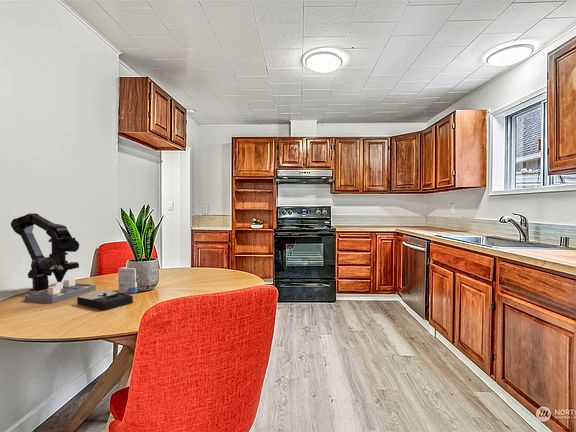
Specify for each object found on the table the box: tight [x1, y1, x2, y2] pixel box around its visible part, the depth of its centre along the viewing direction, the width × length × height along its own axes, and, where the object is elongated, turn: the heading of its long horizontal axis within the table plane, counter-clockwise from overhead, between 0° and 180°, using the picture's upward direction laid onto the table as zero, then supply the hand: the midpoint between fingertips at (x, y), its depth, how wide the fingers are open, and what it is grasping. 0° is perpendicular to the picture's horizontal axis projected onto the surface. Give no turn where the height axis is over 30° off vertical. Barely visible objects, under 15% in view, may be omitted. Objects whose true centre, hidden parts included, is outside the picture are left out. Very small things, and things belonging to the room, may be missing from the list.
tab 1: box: [50, 281, 64, 289], centre depth 161 cm, size 3×4×3 cm
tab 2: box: [47, 286, 61, 295], centre depth 153 cm, size 3×4×3 cm
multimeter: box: [76, 290, 134, 312], centre depth 147 cm, size 13×19×5 cm
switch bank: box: [23, 282, 97, 304], centre depth 161 cm, size 15×24×3 cm, turn 167°
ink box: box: [117, 266, 138, 294], centre depth 167 cm, size 9×5×12 cm, turn 84°
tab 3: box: [63, 278, 76, 287], centre depth 168 cm, size 3×4×3 cm
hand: (59, 282), depth 169 cm, fingers closed
